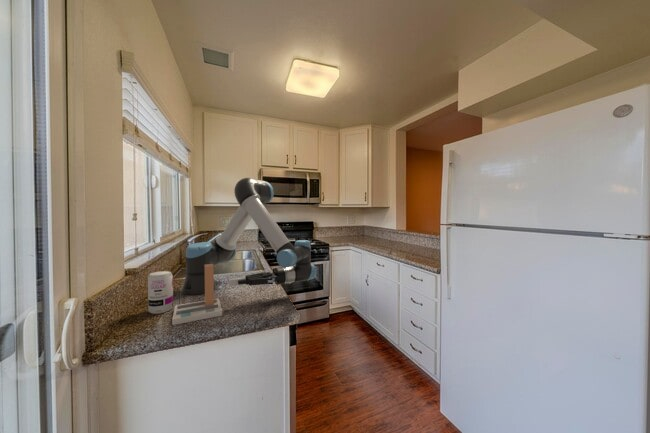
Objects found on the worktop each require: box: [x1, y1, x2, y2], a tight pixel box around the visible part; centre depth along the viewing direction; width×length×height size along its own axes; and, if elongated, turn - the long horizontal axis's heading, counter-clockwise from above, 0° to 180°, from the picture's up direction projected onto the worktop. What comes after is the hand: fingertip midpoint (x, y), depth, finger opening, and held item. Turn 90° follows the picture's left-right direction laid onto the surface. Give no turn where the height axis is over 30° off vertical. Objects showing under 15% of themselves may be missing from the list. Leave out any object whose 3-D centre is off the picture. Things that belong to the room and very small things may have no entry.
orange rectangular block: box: [204, 264, 215, 306], centre depth 94 cm, size 4×3×16 cm
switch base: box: [171, 298, 223, 326], centre depth 92 cm, size 14×16×3 cm
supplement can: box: [147, 270, 174, 315], centre depth 95 cm, size 8×8×15 cm
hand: (229, 282), depth 98 cm, fingers closed
